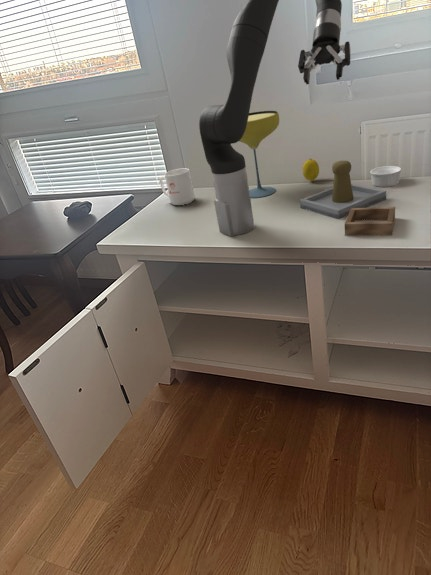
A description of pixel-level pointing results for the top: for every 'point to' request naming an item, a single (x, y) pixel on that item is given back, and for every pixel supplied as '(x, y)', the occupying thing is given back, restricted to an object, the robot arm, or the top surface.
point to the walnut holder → (370, 227)
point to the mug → (178, 186)
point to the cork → (342, 182)
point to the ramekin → (385, 176)
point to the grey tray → (339, 210)
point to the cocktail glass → (253, 135)
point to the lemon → (310, 169)
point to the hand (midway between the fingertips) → (322, 80)
